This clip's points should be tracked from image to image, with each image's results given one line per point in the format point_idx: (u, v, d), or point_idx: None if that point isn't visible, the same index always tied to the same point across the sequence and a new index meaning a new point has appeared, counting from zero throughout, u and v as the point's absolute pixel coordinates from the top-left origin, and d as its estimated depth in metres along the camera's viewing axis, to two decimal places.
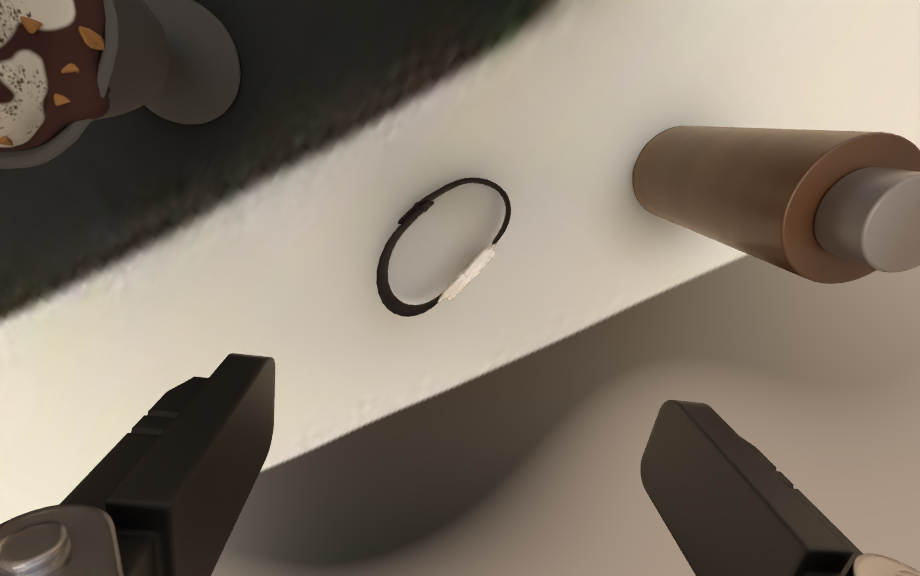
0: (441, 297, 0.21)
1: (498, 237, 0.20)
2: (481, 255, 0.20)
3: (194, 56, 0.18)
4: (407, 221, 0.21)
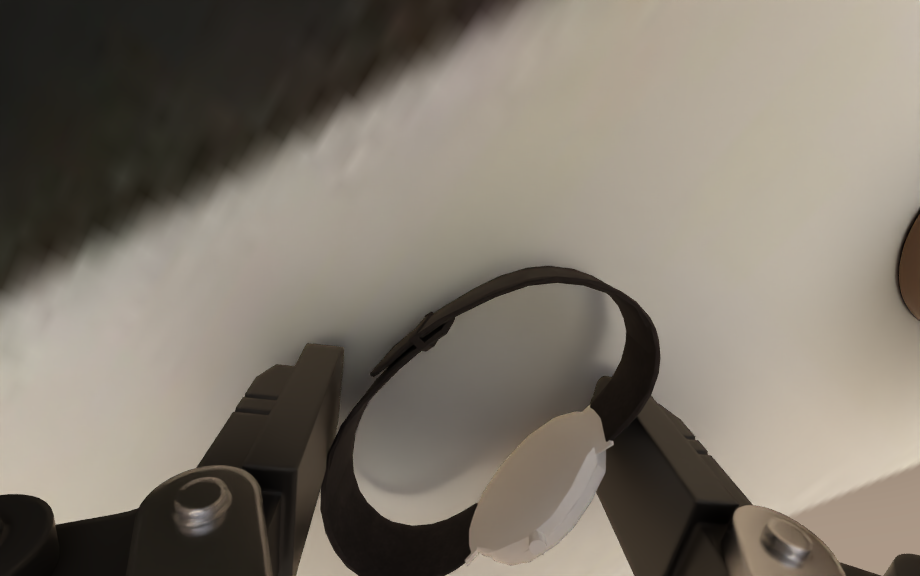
0: (474, 551, 0.09)
1: (623, 424, 0.08)
2: (581, 474, 0.08)
3: None
4: (392, 375, 0.08)
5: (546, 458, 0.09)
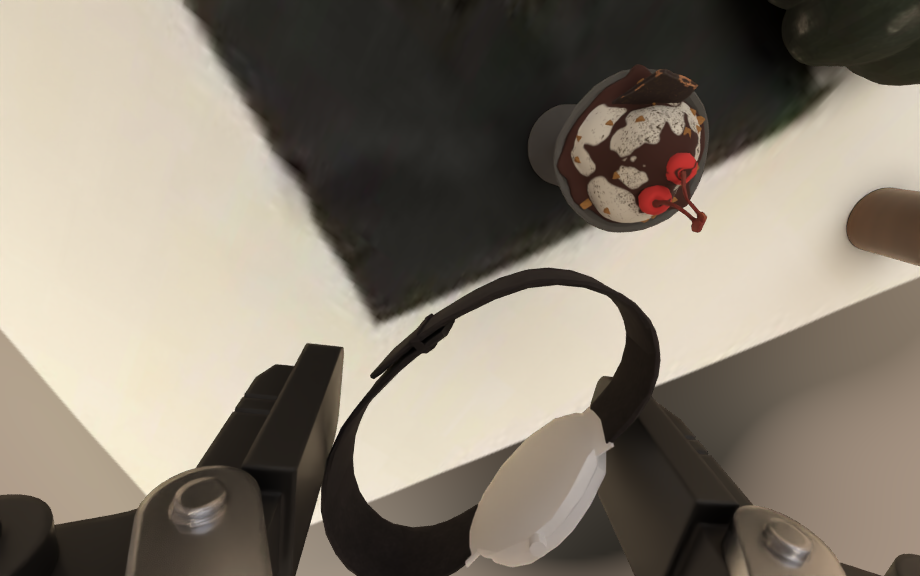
0: (475, 553, 0.09)
1: (623, 426, 0.08)
2: (581, 475, 0.08)
3: None
4: (392, 377, 0.08)
5: (546, 459, 0.09)
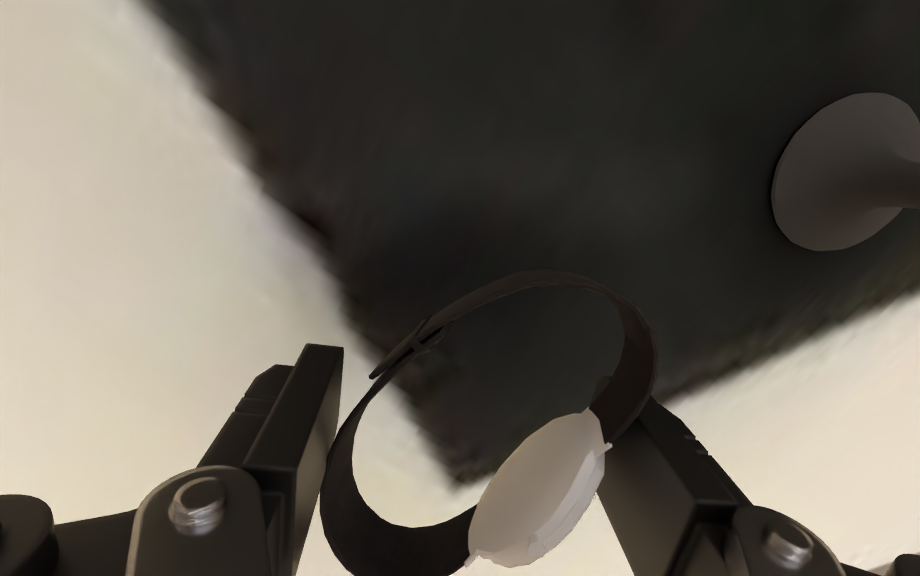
0: (473, 553, 0.09)
1: (622, 426, 0.08)
2: (580, 476, 0.08)
3: None
4: (391, 377, 0.08)
5: (545, 460, 0.09)
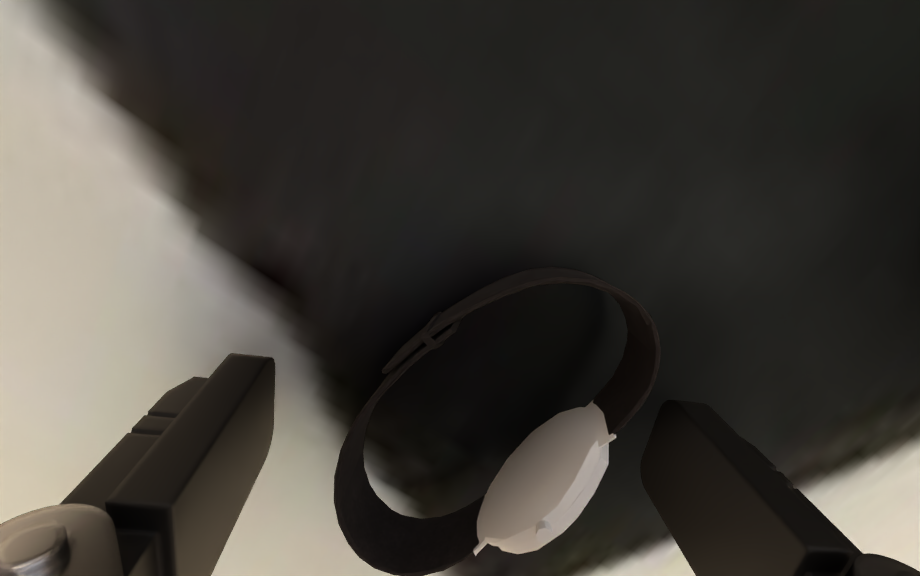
0: (482, 541, 0.09)
1: (625, 418, 0.08)
2: (585, 465, 0.08)
3: None
4: (403, 371, 0.09)
5: (551, 452, 0.09)
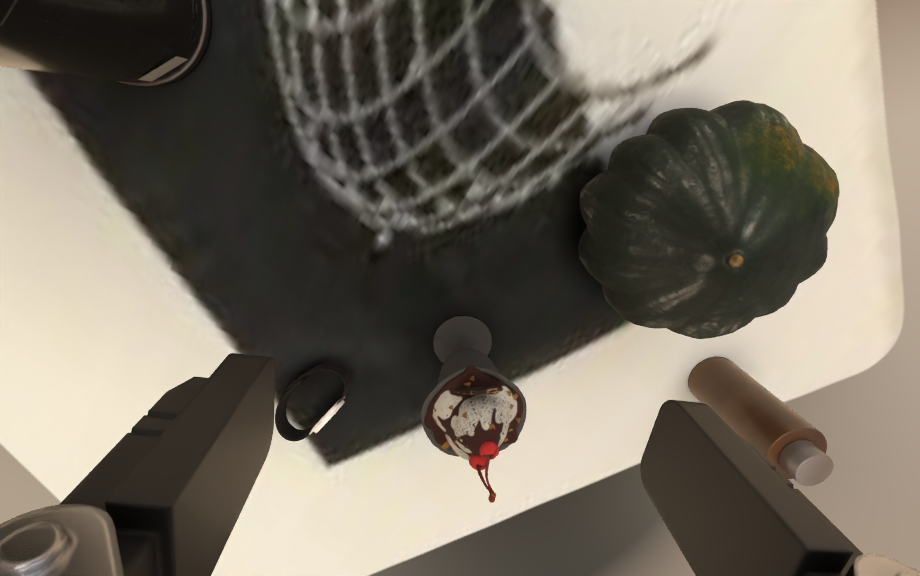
0: (311, 431, 0.37)
1: (339, 400, 0.36)
2: (329, 411, 0.36)
3: (475, 345, 0.37)
4: (290, 389, 0.37)
5: None
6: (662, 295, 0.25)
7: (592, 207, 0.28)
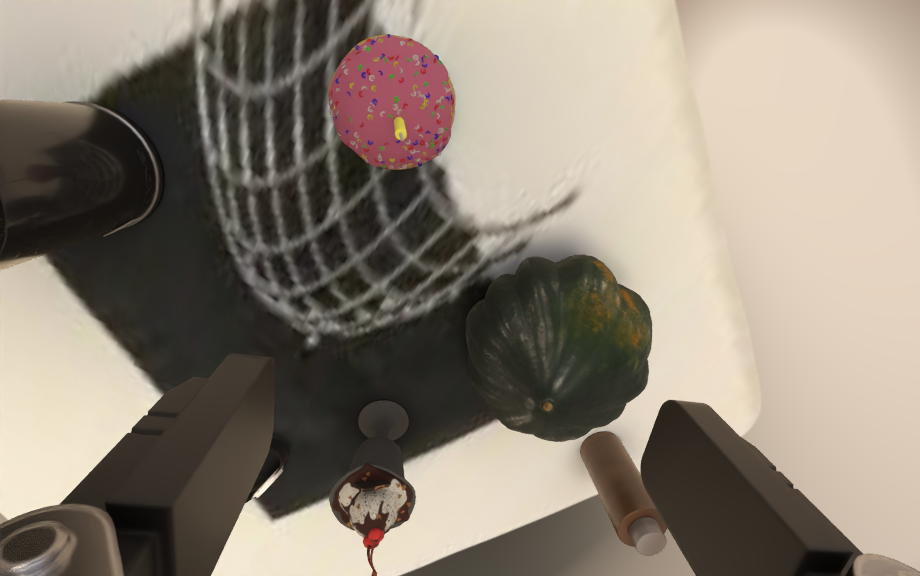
0: (253, 496, 0.44)
1: (276, 471, 0.43)
2: (268, 480, 0.43)
3: (393, 425, 0.44)
4: None
5: (269, 477, 0.44)
6: (512, 416, 0.32)
7: (468, 335, 0.35)
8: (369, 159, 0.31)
